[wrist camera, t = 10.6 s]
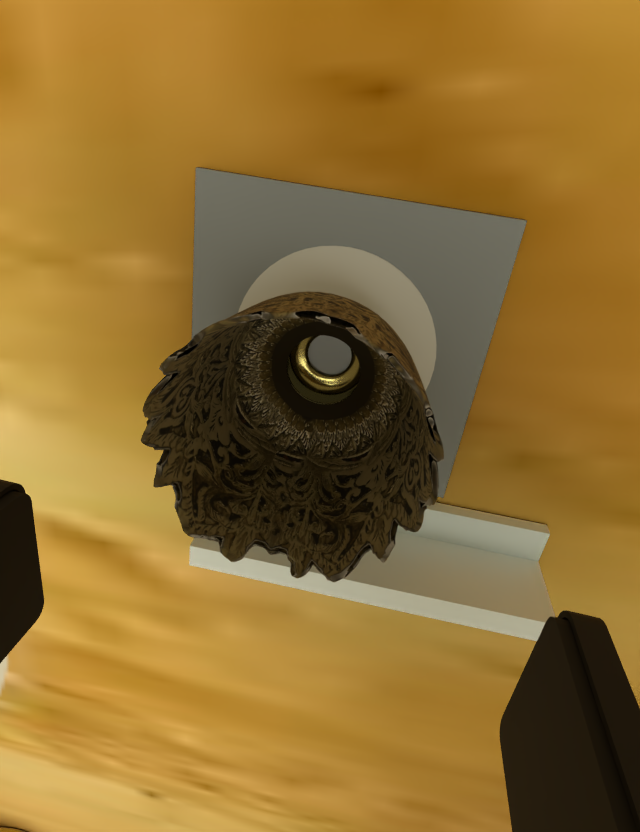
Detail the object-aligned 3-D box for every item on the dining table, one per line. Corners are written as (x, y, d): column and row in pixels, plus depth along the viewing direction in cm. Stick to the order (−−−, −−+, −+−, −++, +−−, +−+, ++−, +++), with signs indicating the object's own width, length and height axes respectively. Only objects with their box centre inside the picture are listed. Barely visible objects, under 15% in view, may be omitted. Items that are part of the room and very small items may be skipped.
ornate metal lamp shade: (217, 406, 22) (122, 530, 14) (256, 223, 18) (157, 270, 11) (390, 463, 21) (381, 617, 14) (463, 292, 18) (497, 382, 11)
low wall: (517, 593, 24) (535, 670, 20) (219, 530, 25) (188, 592, 21) (546, 525, 22) (572, 595, 19) (224, 459, 23) (190, 514, 20)
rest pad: (442, 493, 22) (443, 499, 22) (191, 443, 23) (188, 447, 23) (525, 220, 17) (527, 221, 17) (199, 167, 18) (194, 167, 18)
